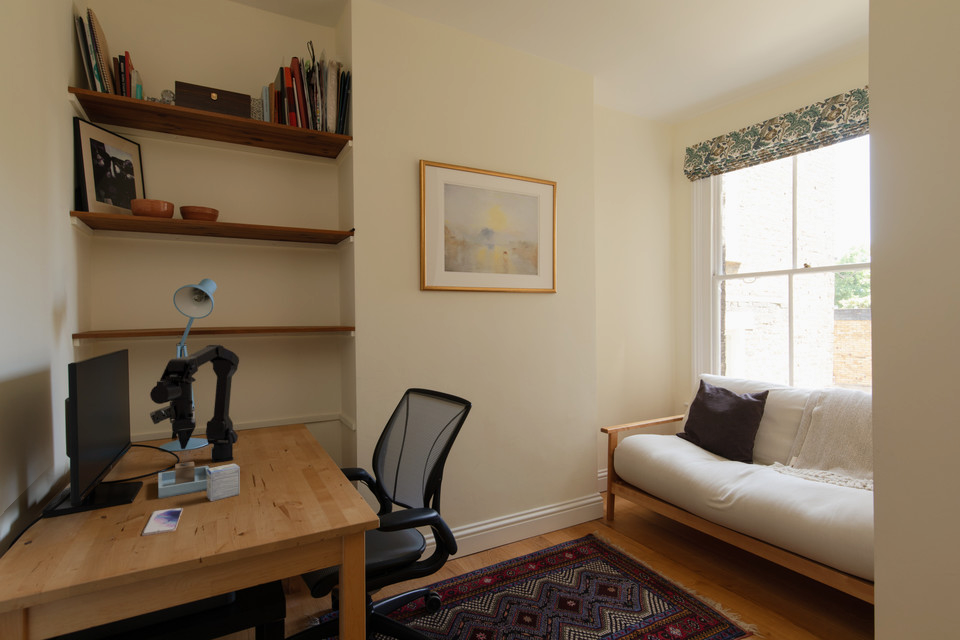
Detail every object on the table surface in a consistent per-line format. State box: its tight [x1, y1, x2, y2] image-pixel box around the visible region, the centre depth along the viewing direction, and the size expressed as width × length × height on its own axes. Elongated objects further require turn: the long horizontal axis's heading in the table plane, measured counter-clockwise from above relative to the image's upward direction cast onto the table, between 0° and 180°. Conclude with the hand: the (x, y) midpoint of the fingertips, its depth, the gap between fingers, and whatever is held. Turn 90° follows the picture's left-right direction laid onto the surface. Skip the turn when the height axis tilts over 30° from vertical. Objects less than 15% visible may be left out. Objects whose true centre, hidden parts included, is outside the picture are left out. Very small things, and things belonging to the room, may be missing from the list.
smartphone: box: [141, 507, 184, 537], centre depth 125 cm, size 7×1×15 cm
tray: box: [157, 465, 210, 499], centre depth 150 cm, size 14×16×3 cm
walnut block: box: [174, 461, 196, 485], centre depth 150 cm, size 5×5×6 cm
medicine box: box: [206, 463, 241, 502], centre depth 142 cm, size 8×4×9 cm, turn 134°
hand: (182, 445), depth 154 cm, fingers open, 9 cm apart
